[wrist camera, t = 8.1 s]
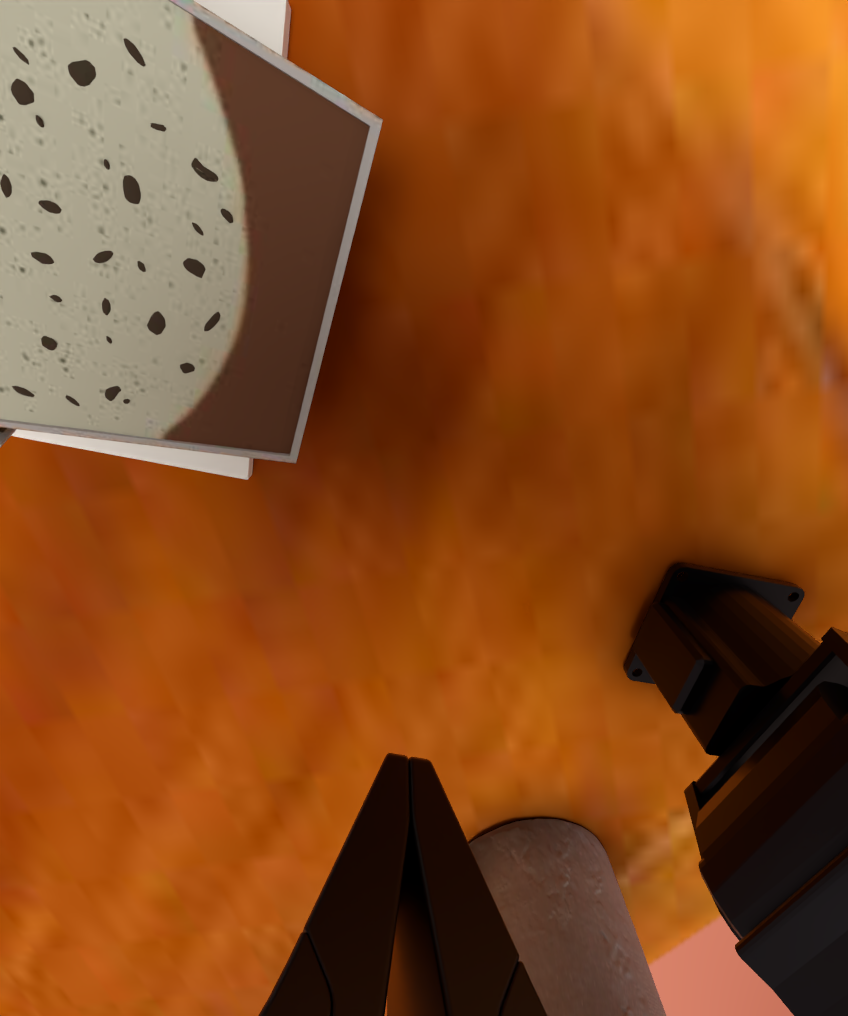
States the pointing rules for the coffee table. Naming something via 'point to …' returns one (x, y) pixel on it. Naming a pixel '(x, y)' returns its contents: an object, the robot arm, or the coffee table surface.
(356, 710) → the coffee table surface
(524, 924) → the pillar candle
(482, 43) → the coffee table surface
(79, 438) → the white flat rectangular board
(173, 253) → the food container
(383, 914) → the robot arm
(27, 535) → the coffee table surface
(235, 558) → the coffee table surface
